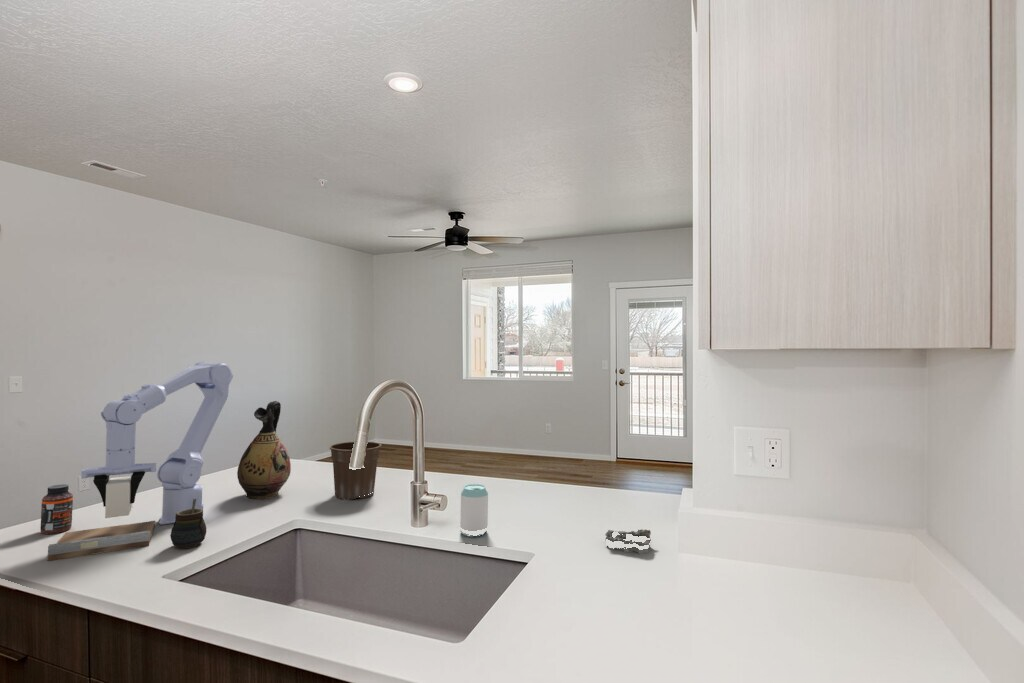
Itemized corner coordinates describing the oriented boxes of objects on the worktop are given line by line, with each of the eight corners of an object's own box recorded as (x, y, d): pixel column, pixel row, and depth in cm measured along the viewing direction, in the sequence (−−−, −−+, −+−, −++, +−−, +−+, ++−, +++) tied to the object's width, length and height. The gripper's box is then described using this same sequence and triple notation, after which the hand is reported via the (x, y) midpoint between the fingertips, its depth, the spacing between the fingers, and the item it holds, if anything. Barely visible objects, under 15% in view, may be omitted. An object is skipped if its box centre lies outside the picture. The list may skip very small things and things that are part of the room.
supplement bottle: (52, 536, 125) (54, 489, 125) (33, 533, 126) (35, 488, 126) (78, 527, 130) (79, 483, 131) (59, 525, 132) (61, 482, 132)
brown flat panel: (154, 525, 133) (154, 520, 133) (148, 545, 119) (149, 540, 119) (65, 537, 124) (65, 532, 124) (47, 560, 110) (47, 555, 110)
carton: (132, 507, 129) (133, 476, 129) (128, 515, 123) (129, 482, 123) (109, 510, 126) (110, 478, 126) (104, 518, 120) (105, 484, 120)
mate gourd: (167, 553, 115) (169, 509, 115) (172, 542, 122) (173, 500, 122) (204, 548, 118) (205, 505, 119) (207, 537, 125) (208, 497, 125)
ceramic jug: (276, 502, 154) (278, 404, 155) (226, 501, 155) (229, 403, 155) (300, 487, 171) (302, 399, 172) (255, 487, 172) (257, 398, 172)
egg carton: (652, 546, 124) (652, 529, 124) (647, 557, 117) (647, 540, 117) (609, 539, 128) (609, 523, 128) (602, 549, 122) (602, 532, 122)
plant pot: (343, 487, 173) (344, 439, 173) (388, 489, 171) (388, 441, 171) (318, 500, 157) (319, 448, 157) (367, 503, 155) (368, 450, 155)
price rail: (149, 539, 120) (149, 530, 120) (148, 540, 119) (149, 532, 119) (49, 553, 111) (49, 544, 111) (47, 555, 110) (48, 546, 110)
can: (492, 531, 132) (492, 485, 133) (479, 540, 126) (480, 491, 126) (468, 526, 135) (469, 482, 135) (455, 535, 129) (455, 488, 129)
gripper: (79, 454, 118) (77, 513, 117) (155, 448, 125) (153, 503, 125) (85, 449, 124) (83, 504, 123) (157, 444, 131) (156, 496, 131)
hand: (119, 503), depth 124 cm, fingers closed on carton, 4 cm apart
